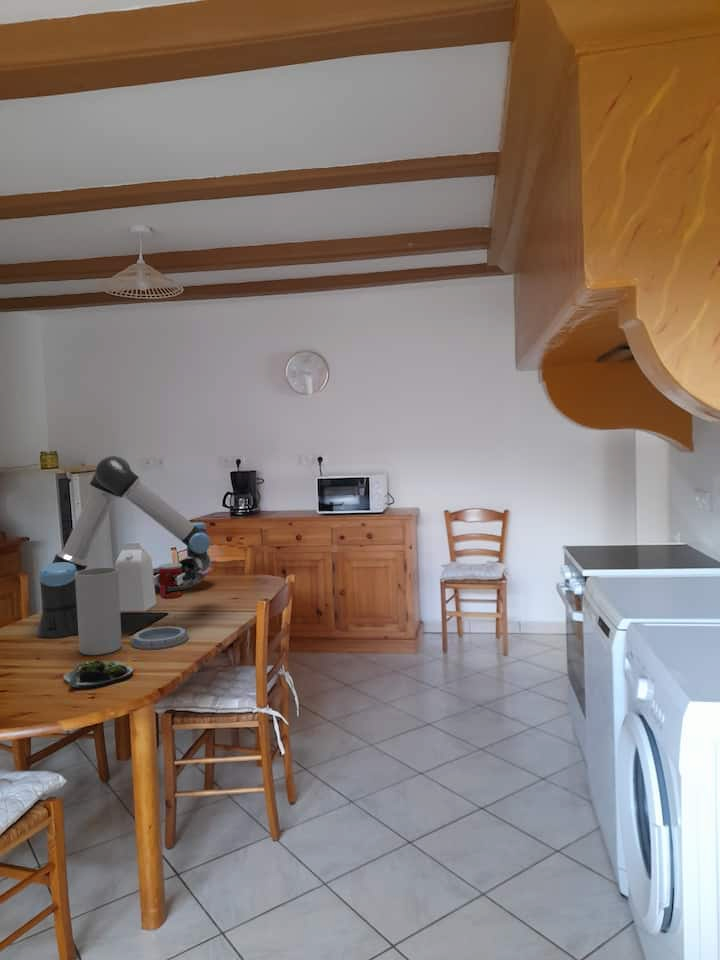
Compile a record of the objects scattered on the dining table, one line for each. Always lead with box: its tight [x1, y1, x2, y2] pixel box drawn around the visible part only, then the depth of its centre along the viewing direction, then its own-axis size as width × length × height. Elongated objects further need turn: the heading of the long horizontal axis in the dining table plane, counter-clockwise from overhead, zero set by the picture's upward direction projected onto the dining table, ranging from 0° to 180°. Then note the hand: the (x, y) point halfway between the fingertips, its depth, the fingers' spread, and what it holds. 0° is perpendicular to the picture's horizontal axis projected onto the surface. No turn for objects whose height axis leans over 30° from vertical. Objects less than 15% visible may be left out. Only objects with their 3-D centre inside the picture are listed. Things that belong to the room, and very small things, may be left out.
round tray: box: [130, 626, 189, 651], centre depth 218 cm, size 18×18×2 cm
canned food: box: [158, 562, 184, 600], centre depth 231 cm, size 8×8×11 cm
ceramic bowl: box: [153, 565, 212, 590], centre depth 298 cm, size 29×29×8 cm
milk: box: [114, 541, 157, 612], centre depth 263 cm, size 12×12×26 cm
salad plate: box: [63, 659, 134, 690], centre depth 186 cm, size 19×18×5 cm
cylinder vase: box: [75, 567, 123, 656], centre depth 210 cm, size 12×12×25 cm
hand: (165, 580), depth 226 cm, fingers closed on canned food, 8 cm apart
